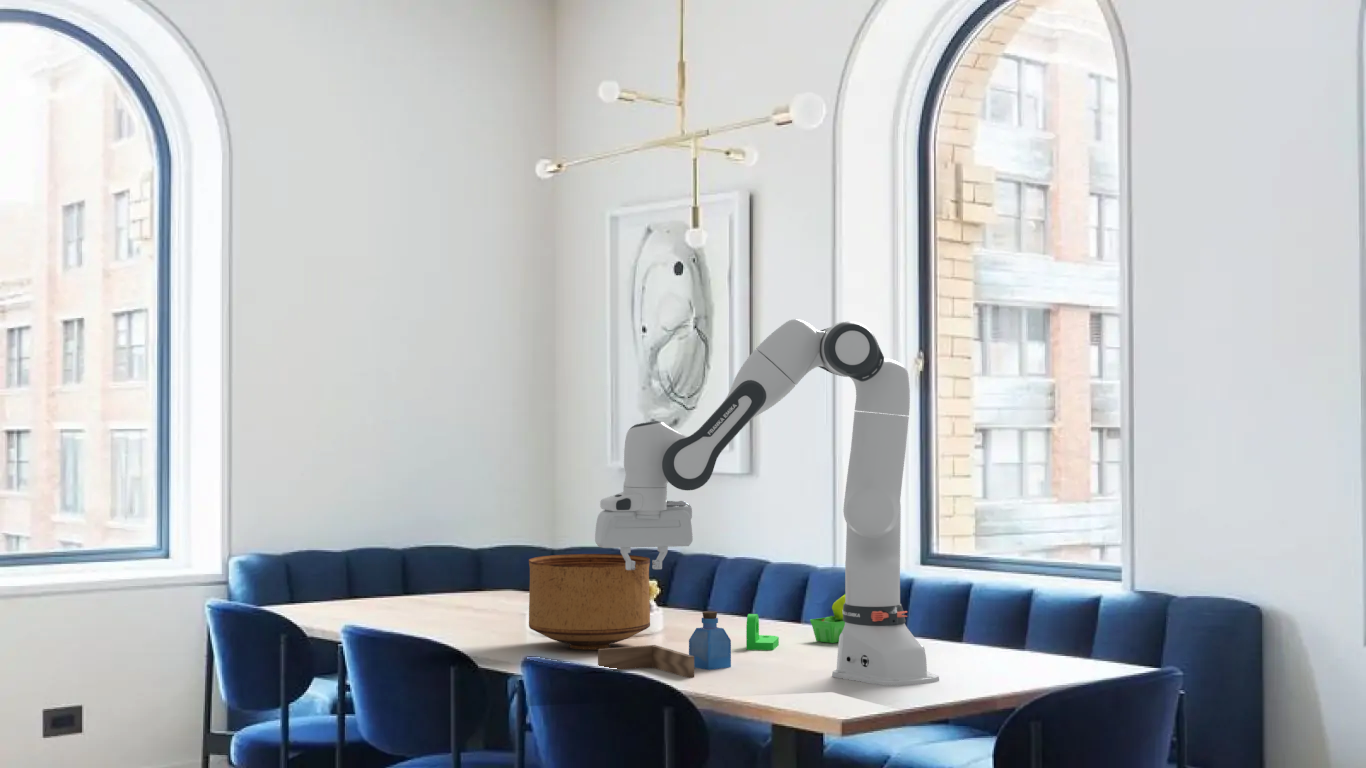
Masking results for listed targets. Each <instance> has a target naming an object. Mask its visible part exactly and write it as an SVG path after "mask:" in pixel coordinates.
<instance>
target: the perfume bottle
mask: <svg viewBox="0 0 1366 768" xmlns="http://www.w3.org/2000/svg"><path fill="white" fill-rule="evenodd" d="M717 615H718V611H715V610H714V611H711V610H710V611H709V610H708V611H705V610H704V611H702V617H701V624H702V627H696V628H695V630H694V631H693V633H692V635H691V636H690V638H689V639H688V655H691V656H694V669H702V670H707V671H710V670H718V669H727V668H728V669H729V668H731V667H732V640H731V638H730V637H729V635H728V634H727V632H726V630H725V629H724V627H723V628H722V627H718V623H719V618H718V617H717Z"/></svg>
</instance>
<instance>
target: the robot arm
mask: <svg viewBox="0 0 1366 768" xmlns="http://www.w3.org/2000/svg"><path fill="white" fill-rule="evenodd" d="M815 368H820V369H823V370H825V371H826V372H829V374H830V373H831V374H832V375H835V376H839V377H846V378H847V377H848V378H850V379H851V380H852V381H853V384H854V387H855V403H854V415H853V423H852V433H851V442H850V443H851V445H850V453H849V460H848V466H847V467H848V468H847V475H846V484H845V492H844V499H843V500H844V502H843V509H842V510H843V517H844V520H845V523H846V538H845V539H846V541H845V563H844V564H845V565H844V567H845V571H844V572H845V573H844V574H845V575H844V576H845V581H844V584H845V585H844V586H845V587H844V588H845V590H844V591H845V593H844V594H845V604H844V605H843V621H844V622H845V626H844V629H843V631H842V633H841V634H840V636H839V642H838V647H837V648H838V649H837V660H836V669H835V670H833V671H832V674H831V676H832V677H833V678H837V679H842V678H843V679H844V680H848V679H849V681H854V680H856V681H855V682H860V681H861V683H867V684H872V685H878V686H911V685H922V684H930V683H937V682H940V676H939V675H937V674H936V673H935V674H934V673H932V672H929V671H928V666H927V665H928V664H927V654H926V650H925V649H926V648H925V646H923V645H921V643H919V641H918V639H916V637H915V636H914V635H913V633H912V632H911V631H910V629H909V628H908V627H907V625H906V622H907V619H906V618H907V617H908V615H906V614H907V613H908V611H907V610H904V608H903V605H902V603H901V518H902V517H901V516H902V515H901V512H902V511H901V495H902V488H903V487H902V485H903V476H904V469H905V468H904V467H905V460H906V459H905V458H906V449H907V448H906V447H907V440H908V439H907V437H908V431H909V430H908V429H909V428H908V427H909V419H910V417H909V416H910V407H911V405H910V403H911V402H910V401H911V394H910V393H911V390H910V389H911V388H910V377H909V373H908V370H907V368H906V367H905V365H903V364H902V363H900V362H898V361H896V360H894V359H891V358H885V356H884V354H883V352H882V350H881V347H880V345H879V343H878V340H877V338H876V335H874V333H873V332H872V330H870V328H869V327H868V326H866V325H864V324H863V323H860V322H857V321H840V322H838V323H835V324H833V325H832V326H830V327H827V328H824V329H821V330H818V329H816V328H815V327H814V326H813V325H811V324H810V323H809V322H806V321H805V320H802V319H798V318H797V319H796V318H795V319H794V318H793V319H789V320H787V321H786V322H784V323H783V324H781V325H780V326H778V328H777V329H775V330H774V331H773V332H772V333H771V334H769V335H768V336H767V337H766V338H765V339H764V340H763V341H762V342H760V343H759V344H758V346H757V347H756V348H755V349H754V350H753V351H752V352H751V354H750V355H749V356H748V357H747V359H746V360H745V361H744V362H743V364H742V365H741V367H740V368H739V370H738V372H737V373H736V375H735V378H734V380H733V383H732V385H731V387H730V389H729V392H728V394H727V396H726V397H725V398H724V401H722V403H721V404H720V405H719V407H717V409H715V411H714V412H713V413H712V414H711V415H710V416H709V417H708V418H707V420H706V421H704V423H703V424H702V425H701V427H699V428H698V429H697V430H696V431H695V432H693V433H692V434H691V435H685V434H683V433H681V432H680V431H679V432H678V431H677V430H675V429H673V428H672V427H670V426H669V425H667V424H666V423H665V422H664V421H661V420H653V421H646V422H642V423H637V424H634V425H632V426H631V427H630V428H629V429H628V430H627V433H626V435H625V441H624V449H623V450H624V451H623V454H624V455H623V468H624V472H625V477H624V481H623V486H622V489H623V490H622V491H621V492H619V493H616V494H613V495H610V496H607V497H605V498H602V499H601V500H600V501H599V502H600V504H599V506H600V509H602V511H600V513H598V515H597V518H596V524H595V531H594V532H595V534H594V541H595V544H596V546H598V547H599V548H603V549H611V548H612V549H616V548H617V549H618V548H619V549H620V555H622V556H623V558H624V560H625V561H626V570H635V561H631V559H630V557H629V554H631V551H632V550H631V549H632V548H657V552H659V553H658V555H657V557H656V559H652V565H651V566H652V569H653V570H662V569H663V561H664V559H665V557H666V556H667V554H668V552H669V551H668V550H669V547H671V548H672V547H675V548H676V547H689V546H691V544H692V543H693V539H694V538H693V526H692V525H693V524H692V518H693V508H692V506H691V505H690V504H689V503H688V502H686V501H685V500H679V501H674V500H667V499H668V497H667V495H668V494H667V493H668V491H667V490H668V488H667V487H668V483H669V484H670V485H671V486H672V487H675V488H676V489H678V490H681V491H693V490H694V491H695V490H697V489H700V488H701V487H703V486H705V484H707V482H708V481H709V480H710V478H711V477H712V474H713V472H714V469H715V465H716V463H717V460H718V458H719V456H720V454H721V453H722V452H723V450H724V449H725V448H726V447H727V446H728V445H729V444H730V443H731V442H732V441H733V439H734V438H735V437H737V435H738V434H739V433H740V432H741V430H742V429H743V428H744V427H745V426H746V425H747V424H749V422H750V421H751V420H753V419H754V418H756V417H758V416H759V415H761V414H762V413H764V412H766V411H768V410H769V409H771V408H772V407H774V406H775V405H776V404H778V403H779V402H780V401H781V400H783V398H785V397H786V396H787V395H788V394H790V392H791V391H792V390H793V389H794V388H795V387H796V386H797V385H798V384H799V382H800V381H801V380H802V379H803V378H804V377H806V375H807V374H809V372H810V371H812V370H814V369H815Z"/></svg>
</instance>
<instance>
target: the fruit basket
mask: <svg viewBox="0 0 1366 768" xmlns="http://www.w3.org/2000/svg"><path fill="white" fill-rule="evenodd" d="M844 604H845V593H844V594H843V595H842V596H841V597H838V599H836V600H835V601H834V602H833V604H832V606H831V610H832V612H833V615H829V616H826V617H820V618H819V617H818V618H811V619H809V622H810V624H811V626H812V627H811V628H812V630H813V635H814V638H815V641H816V642H821V643H829V644H830V643H831V644H836V643H837V644H838V643H839V636H840V634H841V633H842V631H843V629H844V626H845V622H844V621H843V605H844Z"/></svg>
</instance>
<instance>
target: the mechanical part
mask: <svg viewBox="0 0 1366 768" xmlns="http://www.w3.org/2000/svg"><path fill="white" fill-rule="evenodd" d="M745 628H746V631H745V632H746V633H745V634H746V635H745V636H746V638H745V639H746V647H745V648H746V651H749V650H750V651H774V650H775V649H776V648H777V647H778V646H779V640H780V637H779V636H778V635H767V634H760V618H759V614H758V613H748V614H747V617H746V627H745Z"/></svg>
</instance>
